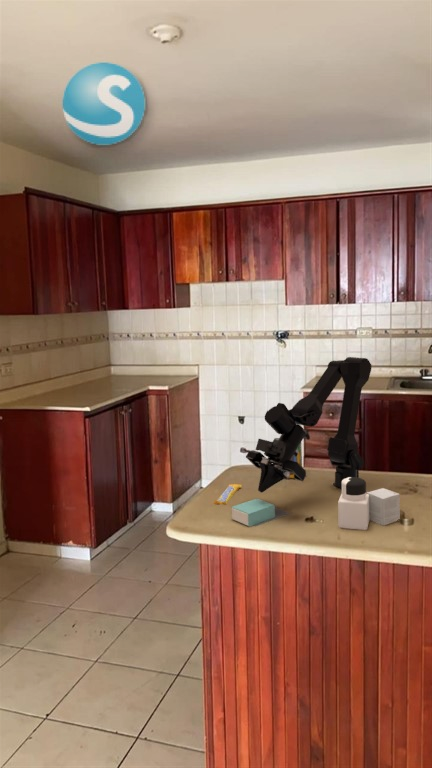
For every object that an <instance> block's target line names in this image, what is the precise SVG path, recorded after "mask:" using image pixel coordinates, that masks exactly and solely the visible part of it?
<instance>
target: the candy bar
mask: <svg viewBox="0 0 432 768" xmlns="http://www.w3.org/2000/svg"><path fill="white" fill-rule="evenodd" d="M241 488H242V484H238V483H235V484H234V483H233V484H232V483H229V484H228V486H227V487H226V489H225V490H224V491H223V492H222V494H220V496H219V497H218V498H217V499H215V500H214V501H213V504H214V505H227V503H228V502H229V500H230V499H231V498H232V497H233V496H234V495H235V493H236V492H238V491H239V489H241Z"/></svg>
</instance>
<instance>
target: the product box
mask: <svg viewBox="0 0 432 768" xmlns="http://www.w3.org/2000/svg"><path fill="white" fill-rule="evenodd" d="M366 494H369V509H370V520H369V521H370V522H374V523H376V524H378V525H381V526H387V525H390V524H392V523H396V522H398V521H399V520H398V519H400V520H401V516H400V512H401V511H400V508H401V507H400V504H401V503H400V502H401V501H400V493H398V492H396V491H393V490H390V489H387V488H384V487H382V488H378V489H375V490H371V491H366ZM397 520H398V521H397Z"/></svg>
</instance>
